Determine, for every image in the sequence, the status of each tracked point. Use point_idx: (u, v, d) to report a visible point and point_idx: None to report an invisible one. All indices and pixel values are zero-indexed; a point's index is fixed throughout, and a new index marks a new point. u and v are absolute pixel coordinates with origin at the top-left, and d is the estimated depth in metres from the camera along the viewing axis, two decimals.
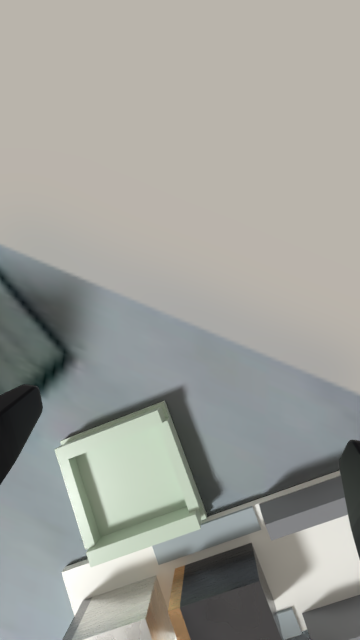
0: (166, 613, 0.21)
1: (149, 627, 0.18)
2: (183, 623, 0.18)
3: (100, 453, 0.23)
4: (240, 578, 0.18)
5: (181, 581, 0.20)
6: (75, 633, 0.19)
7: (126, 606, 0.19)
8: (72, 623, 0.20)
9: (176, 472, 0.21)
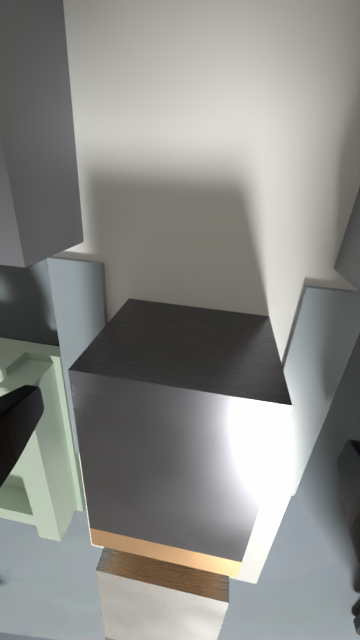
0: None
1: (117, 568, 0.09)
2: (122, 536, 0.08)
3: None
4: None
5: None
6: None
7: None
8: None
9: None
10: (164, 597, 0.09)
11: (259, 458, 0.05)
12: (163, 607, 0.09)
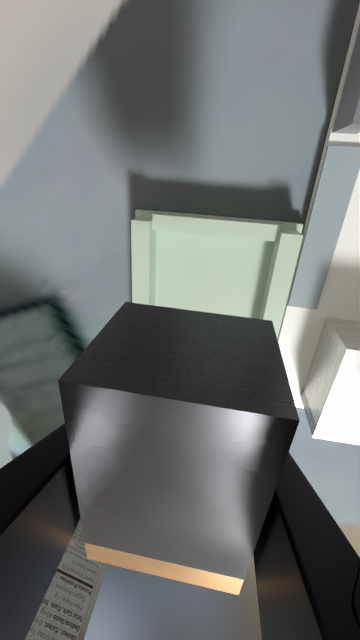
0: None
1: (359, 348, 0.14)
2: (118, 552, 0.07)
3: None
4: None
5: None
6: (314, 417, 0.17)
7: (327, 361, 0.16)
8: (307, 415, 0.18)
9: (222, 234, 0.15)
10: None
11: (263, 474, 0.05)
12: None
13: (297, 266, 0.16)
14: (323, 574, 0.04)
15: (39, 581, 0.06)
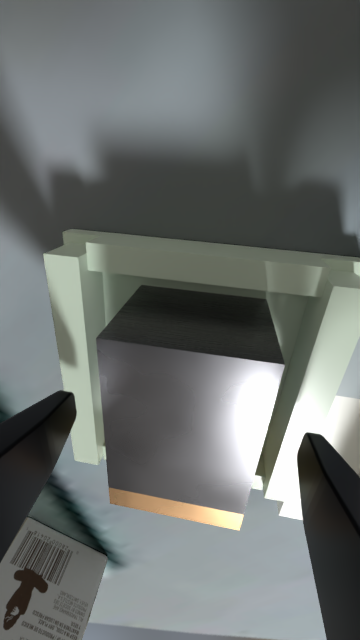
0: None
1: None
2: (137, 494, 0.09)
3: None
4: None
5: None
6: None
7: None
8: None
9: (215, 281, 0.08)
10: None
11: (258, 413, 0.06)
12: None
13: None
14: None
15: None
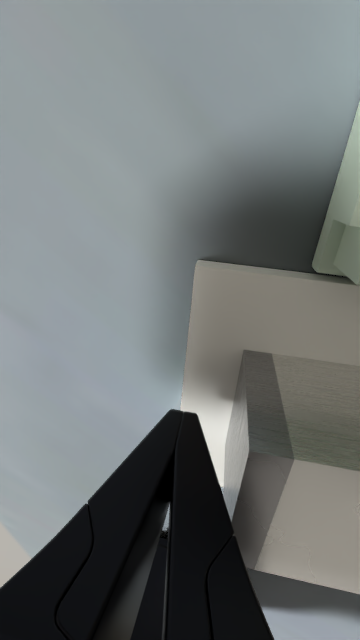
0: None
1: None
2: None
3: None
4: None
5: None
6: (291, 431, 0.06)
7: None
8: (251, 393, 0.07)
9: None
10: None
11: None
12: None
13: None
14: (196, 546, 0.05)
15: (135, 605, 0.06)
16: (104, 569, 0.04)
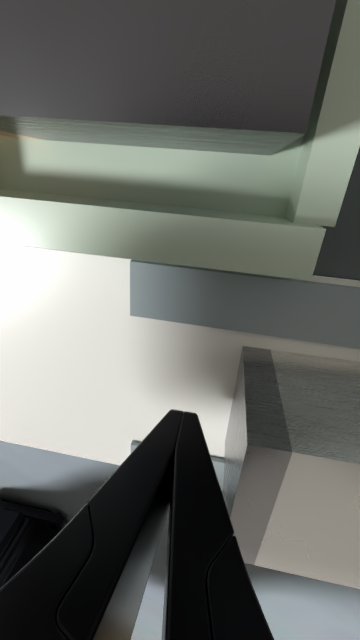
0: None
1: None
2: None
3: None
4: None
5: None
6: (289, 425, 0.06)
7: None
8: (250, 389, 0.07)
9: (346, 37, 0.05)
10: None
11: (181, 94, 0.03)
12: None
13: (217, 270, 0.07)
14: (195, 546, 0.05)
15: (136, 606, 0.06)
16: (105, 569, 0.04)
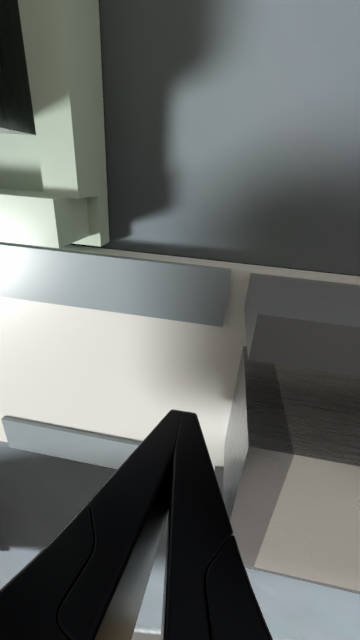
0: None
1: None
2: None
3: None
4: None
5: None
6: (291, 426, 0.06)
7: None
8: (251, 389, 0.07)
9: (26, 21, 0.05)
10: None
11: None
12: None
13: (25, 246, 0.08)
14: (194, 545, 0.05)
15: (136, 606, 0.06)
16: (106, 569, 0.04)
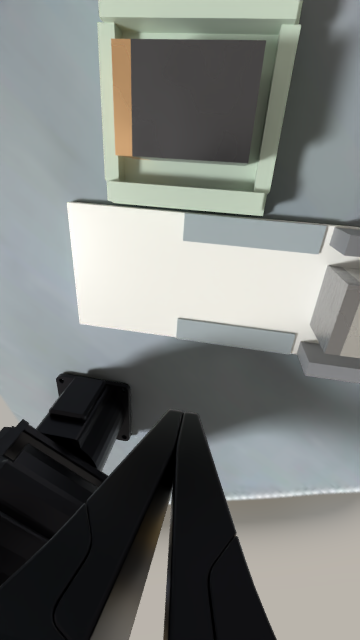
0: None
1: None
2: (129, 68, 0.12)
3: None
4: None
5: None
6: None
7: None
8: (340, 275, 0.15)
9: (267, 128, 0.14)
10: None
11: (216, 153, 0.12)
12: None
13: (224, 216, 0.17)
14: (197, 546, 0.05)
15: (134, 605, 0.06)
16: (103, 568, 0.04)
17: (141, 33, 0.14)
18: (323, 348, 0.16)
